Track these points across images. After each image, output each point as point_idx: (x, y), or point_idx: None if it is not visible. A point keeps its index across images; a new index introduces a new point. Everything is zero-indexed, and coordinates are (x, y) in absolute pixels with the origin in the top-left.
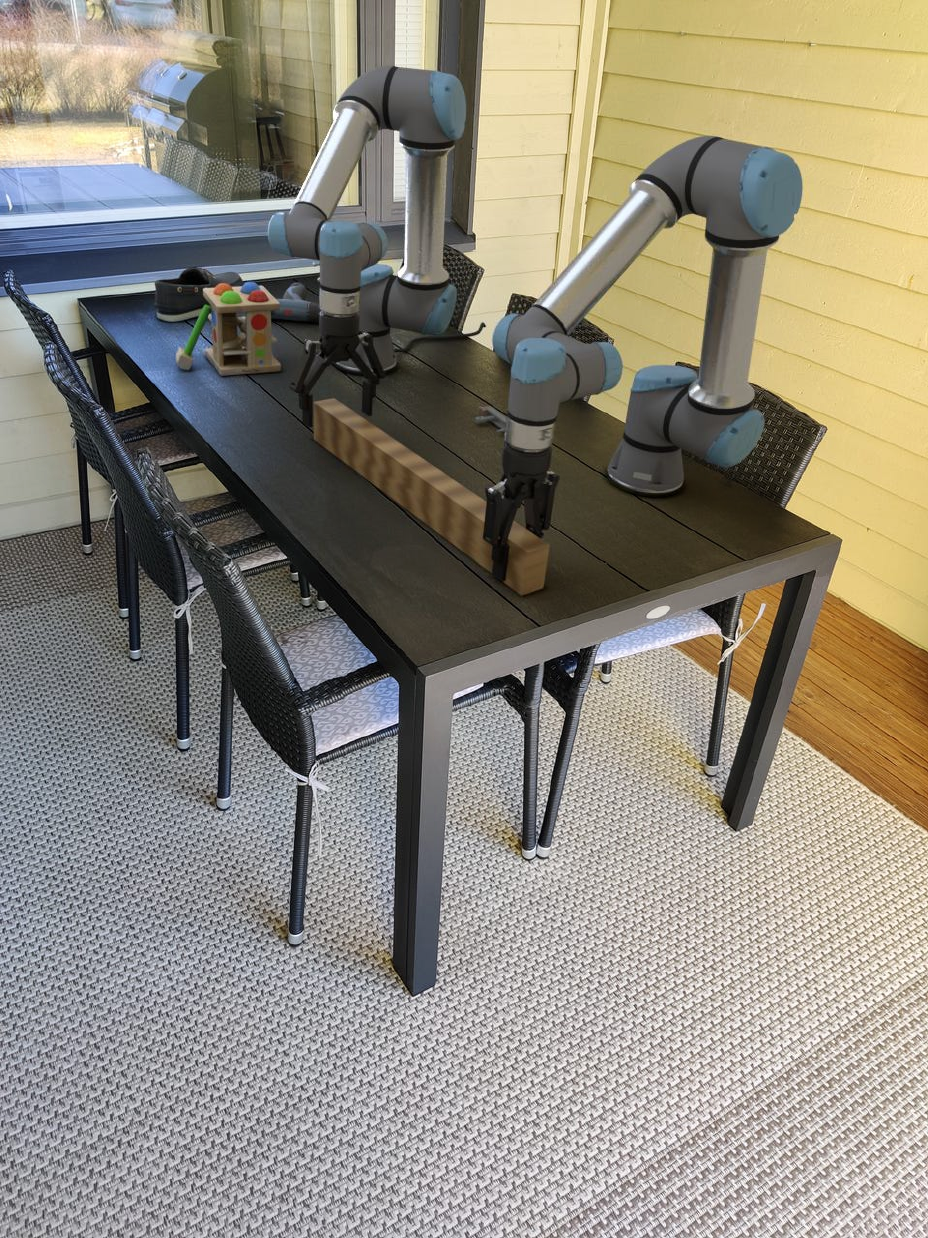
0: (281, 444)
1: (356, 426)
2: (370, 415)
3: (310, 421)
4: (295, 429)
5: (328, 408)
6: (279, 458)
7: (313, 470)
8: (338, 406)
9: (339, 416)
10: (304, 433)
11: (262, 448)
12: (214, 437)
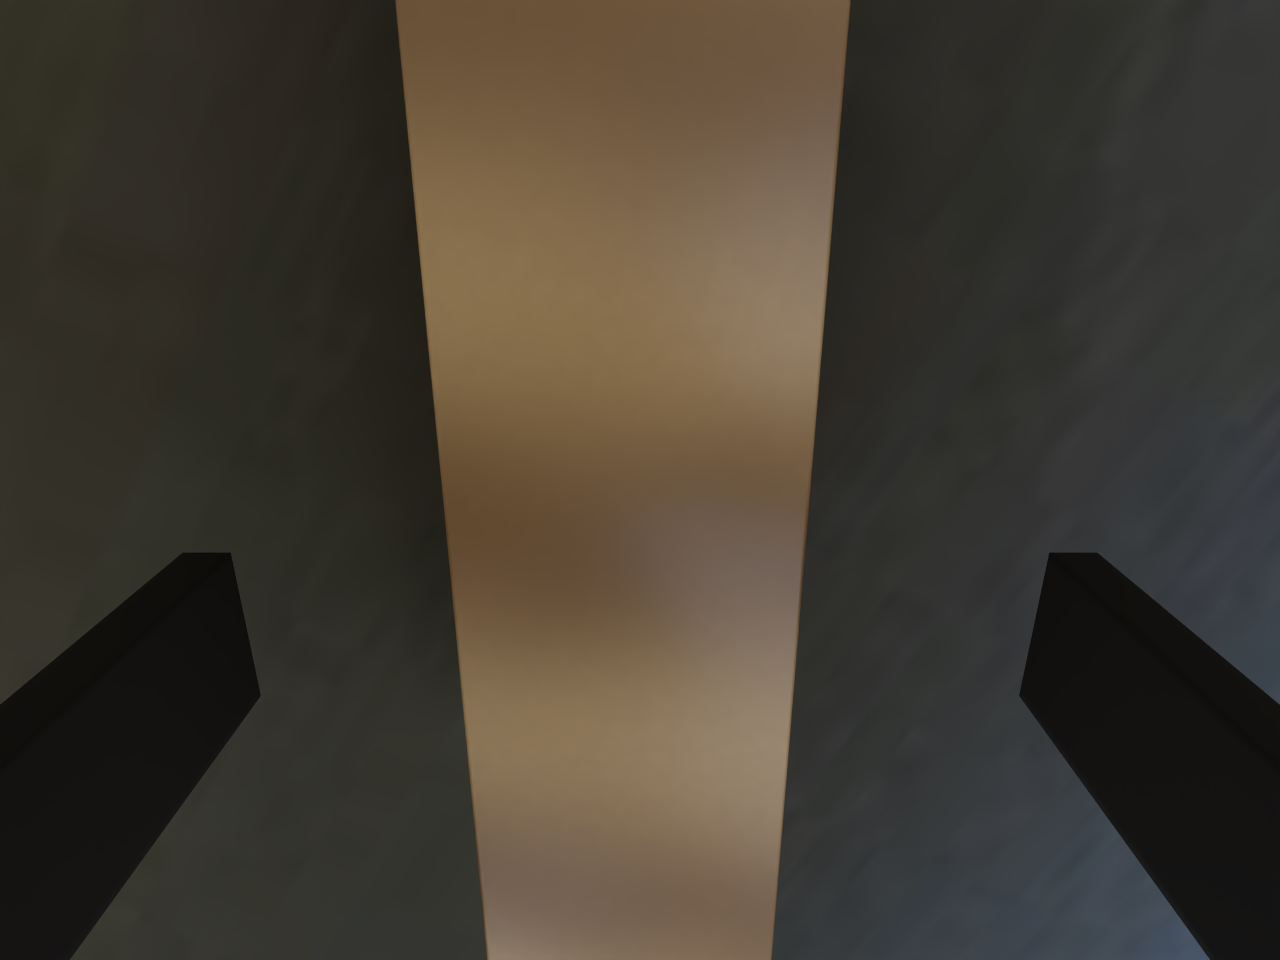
0: (973, 711)
1: (720, 25)
2: (204, 554)
3: (1122, 588)
4: None
5: (721, 782)
6: (1145, 522)
7: (1074, 192)
8: (568, 784)
9: (739, 515)
10: None
11: None
12: None
